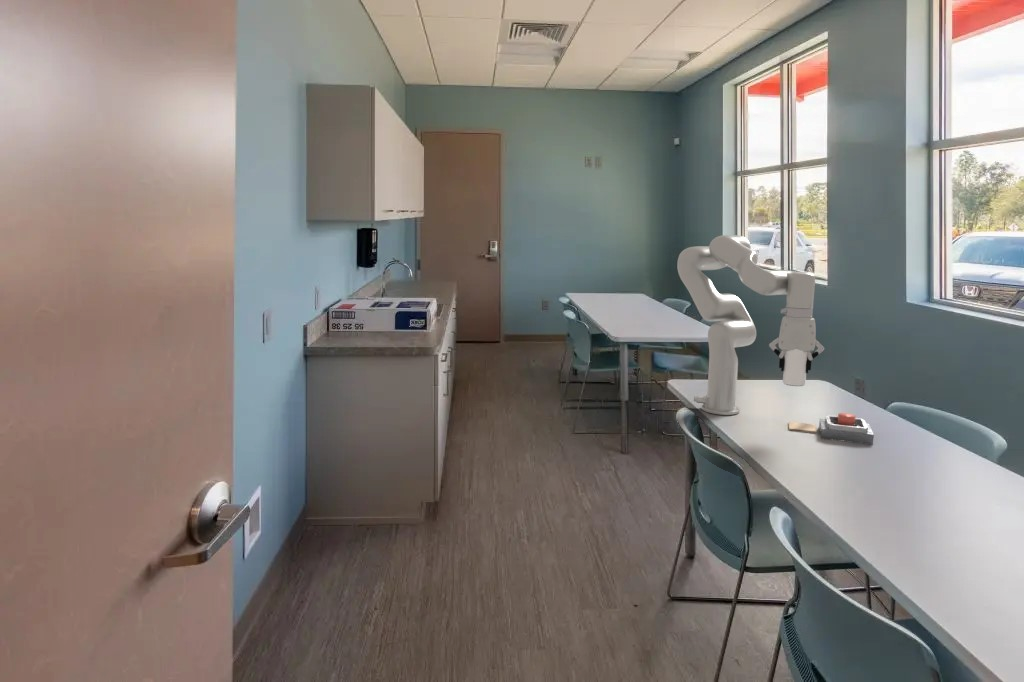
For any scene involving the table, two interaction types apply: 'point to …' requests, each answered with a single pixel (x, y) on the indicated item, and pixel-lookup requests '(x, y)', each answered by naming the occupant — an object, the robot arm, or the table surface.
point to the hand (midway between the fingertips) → (794, 370)
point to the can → (795, 368)
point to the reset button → (846, 419)
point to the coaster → (802, 427)
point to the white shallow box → (845, 430)
